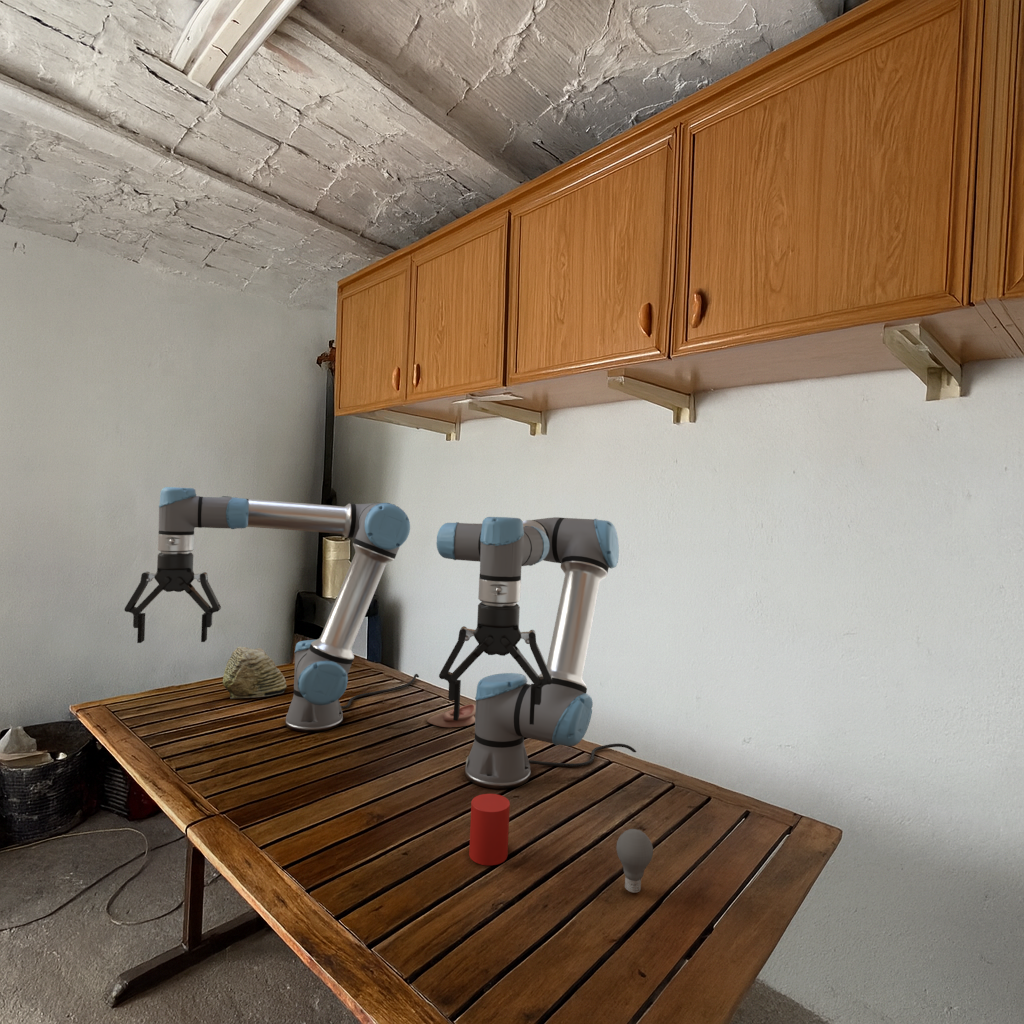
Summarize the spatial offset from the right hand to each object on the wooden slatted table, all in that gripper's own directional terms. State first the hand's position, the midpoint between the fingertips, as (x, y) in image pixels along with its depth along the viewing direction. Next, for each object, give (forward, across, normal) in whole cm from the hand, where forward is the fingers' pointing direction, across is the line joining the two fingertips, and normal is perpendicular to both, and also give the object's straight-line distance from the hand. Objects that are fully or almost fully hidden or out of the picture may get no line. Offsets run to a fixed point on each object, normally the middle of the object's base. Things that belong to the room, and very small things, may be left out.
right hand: (493, 720), depth 114 cm
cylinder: (+25, 0, 0) cm, 25 cm away
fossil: (+25, -79, +81) cm, 116 cm away
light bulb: (+25, +25, -8) cm, 36 cm away
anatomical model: (+25, -15, +67) cm, 73 cm away
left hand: (-3, -79, +34) cm, 86 cm away
